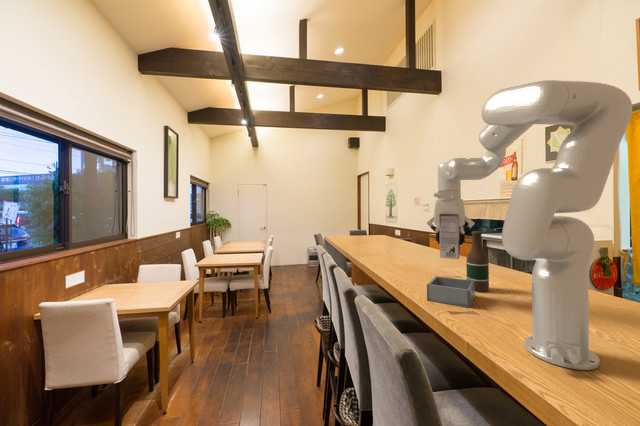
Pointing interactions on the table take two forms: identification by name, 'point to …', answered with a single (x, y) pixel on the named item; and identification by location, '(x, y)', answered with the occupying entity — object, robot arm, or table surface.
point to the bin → (451, 291)
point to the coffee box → (449, 236)
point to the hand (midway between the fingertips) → (450, 243)
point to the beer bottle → (478, 264)
